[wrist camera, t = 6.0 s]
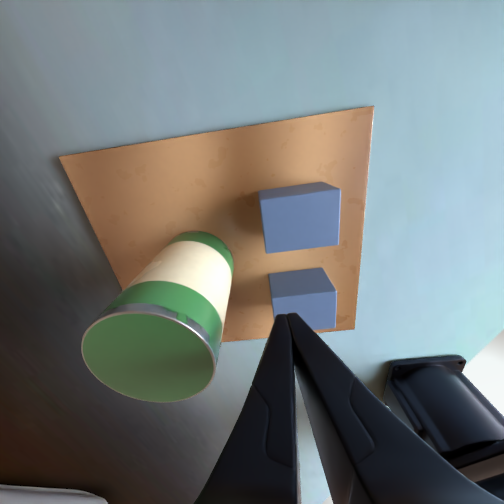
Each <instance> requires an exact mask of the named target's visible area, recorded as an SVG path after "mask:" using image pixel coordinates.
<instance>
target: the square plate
mask: <svg viewBox="0 0 504 504" xmlns="http://www.w3.org/2000/svg"><path fill="white" fill-rule="evenodd" d="M0 504H108V503H107V501H106V500H105V499H104V498H102V497H98V496H96V495H94V494H91V493H88V492H85V491H80V490H73V489H60V488H42V487H27V486H10V485H0Z"/></svg>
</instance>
